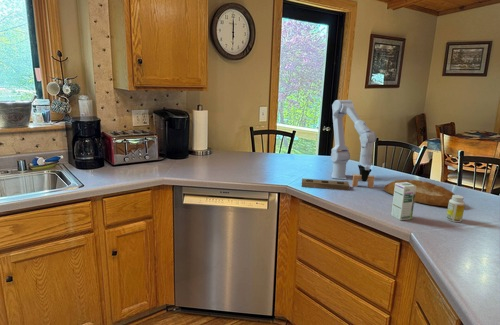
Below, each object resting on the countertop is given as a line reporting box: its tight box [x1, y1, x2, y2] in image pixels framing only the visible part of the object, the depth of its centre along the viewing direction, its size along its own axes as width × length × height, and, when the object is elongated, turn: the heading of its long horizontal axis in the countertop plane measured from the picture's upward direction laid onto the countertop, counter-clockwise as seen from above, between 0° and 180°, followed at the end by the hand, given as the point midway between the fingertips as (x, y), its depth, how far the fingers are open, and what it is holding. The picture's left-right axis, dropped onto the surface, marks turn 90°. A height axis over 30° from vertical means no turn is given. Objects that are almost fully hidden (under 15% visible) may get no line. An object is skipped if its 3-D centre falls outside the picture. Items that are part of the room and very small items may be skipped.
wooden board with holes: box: [301, 178, 350, 191], centre depth 176 cm, size 7×24×2 cm, turn 81°
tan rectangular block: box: [351, 174, 375, 189], centre depth 177 cm, size 2×10×6 cm, turn 81°
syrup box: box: [390, 182, 416, 221], centre depth 136 cm, size 6×6×14 cm
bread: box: [382, 179, 456, 208], centre depth 161 cm, size 18×35×9 cm, turn 49°
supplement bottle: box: [445, 194, 466, 223], centre depth 136 cm, size 6×6×10 cm
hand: (363, 180), depth 177 cm, fingers open, 5 cm apart
